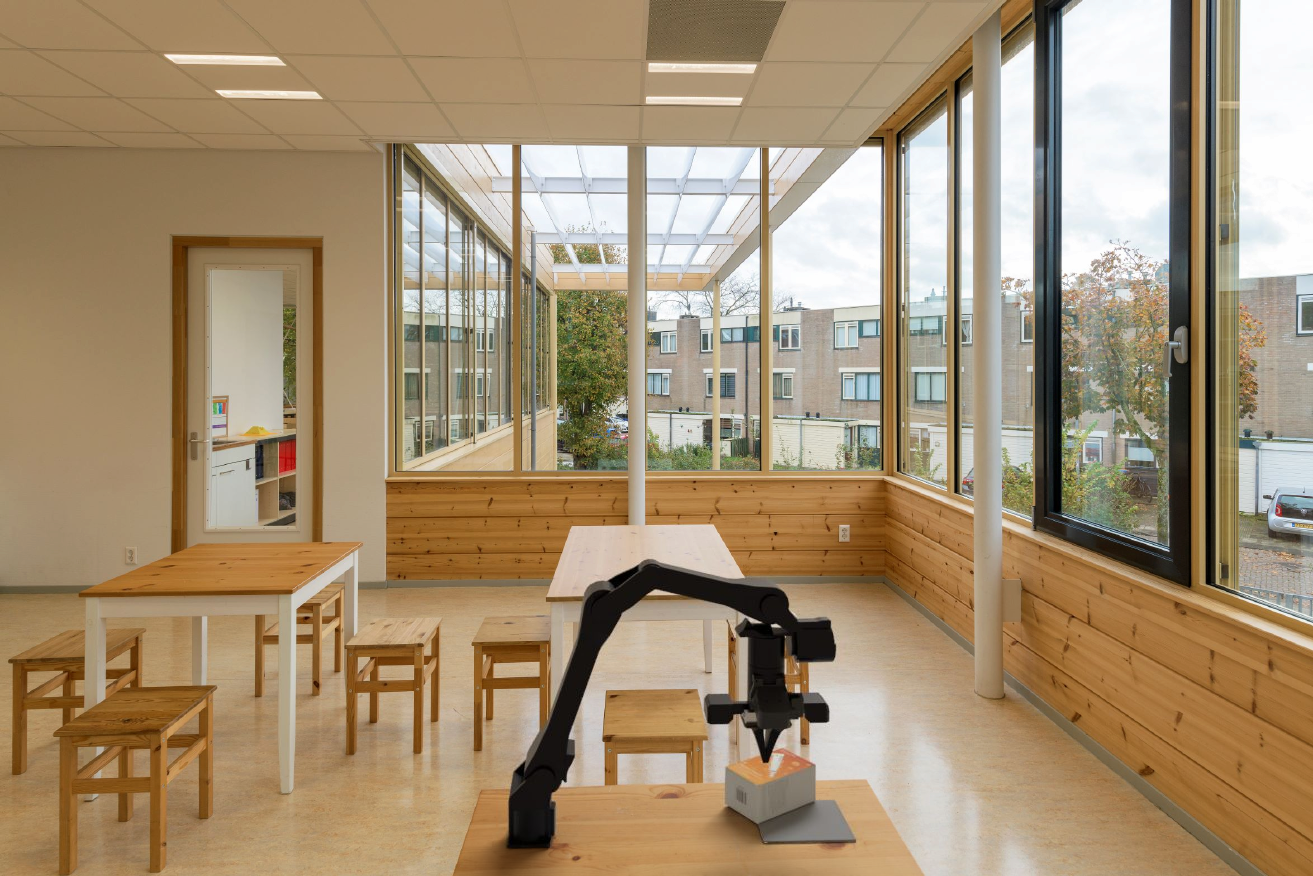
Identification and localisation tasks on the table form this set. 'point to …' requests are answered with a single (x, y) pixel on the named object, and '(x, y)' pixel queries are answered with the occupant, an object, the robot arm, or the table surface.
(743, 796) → the small box
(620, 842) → the table surface
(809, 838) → the mat
